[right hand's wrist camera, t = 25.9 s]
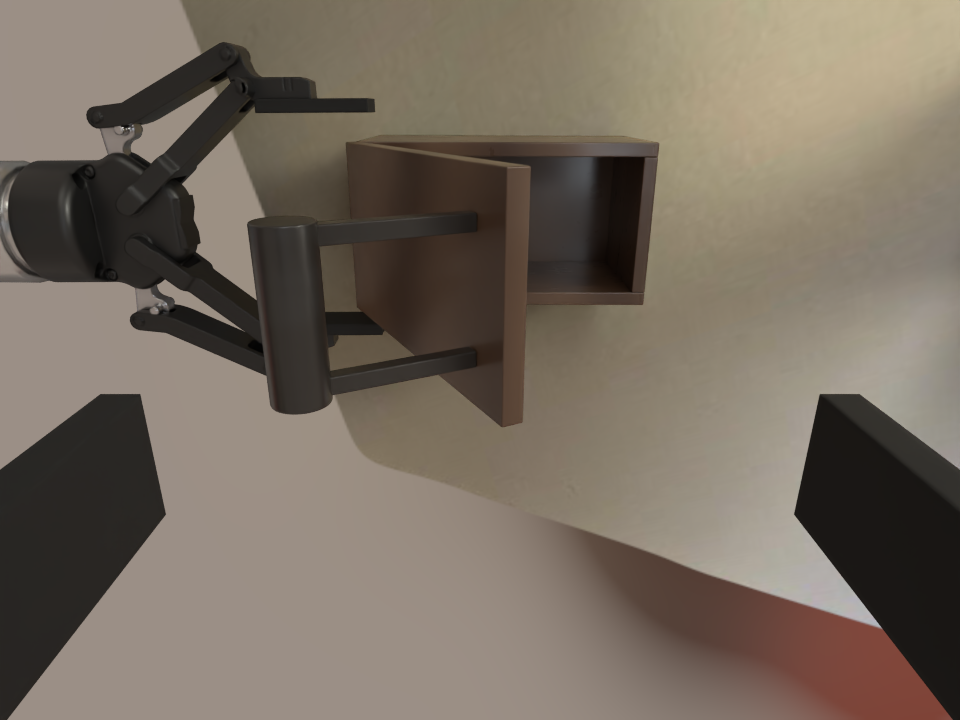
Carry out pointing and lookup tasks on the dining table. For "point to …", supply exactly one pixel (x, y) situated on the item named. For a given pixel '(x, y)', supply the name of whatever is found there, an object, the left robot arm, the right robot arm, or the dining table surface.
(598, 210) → the chest
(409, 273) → the lid
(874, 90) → the dining table surface
